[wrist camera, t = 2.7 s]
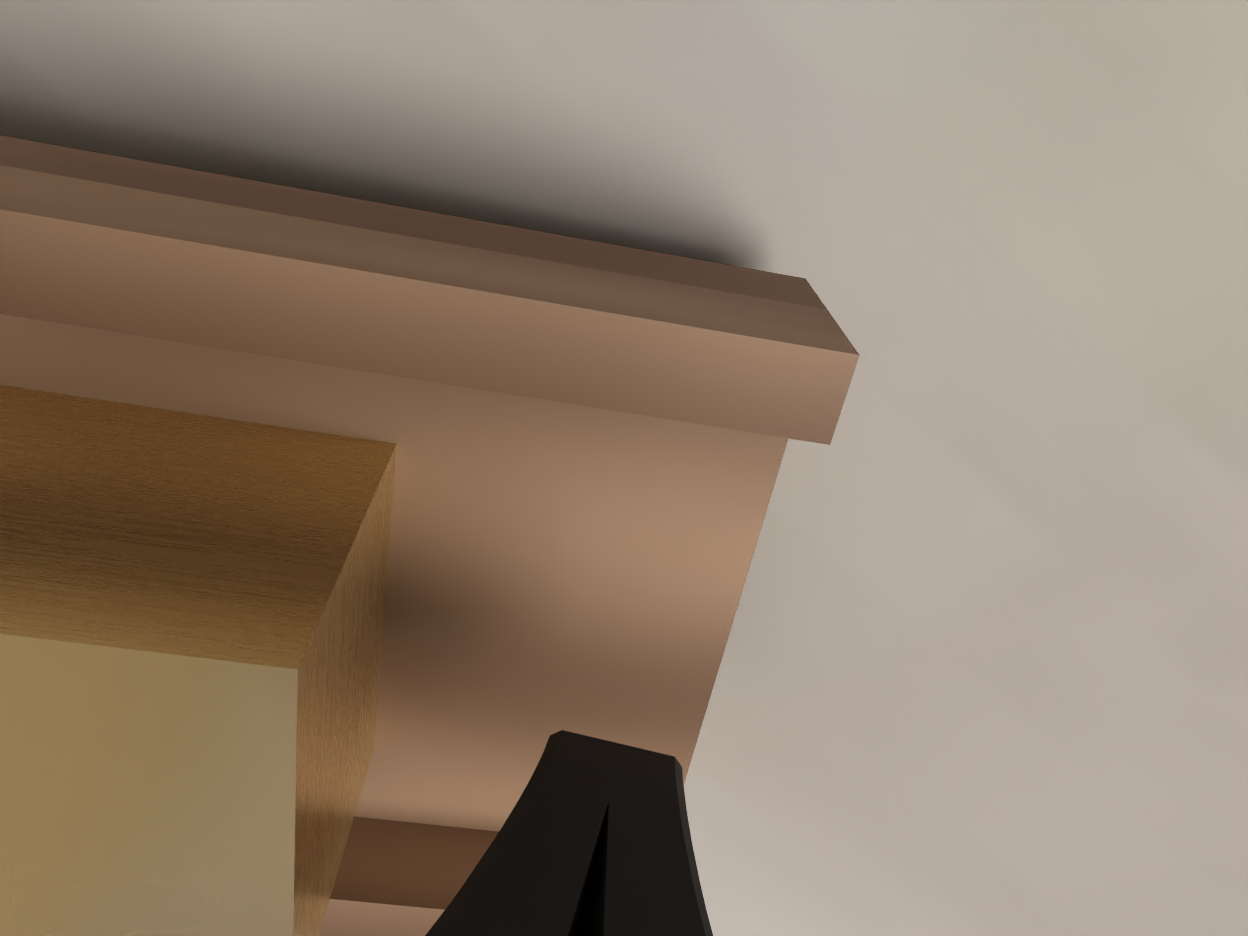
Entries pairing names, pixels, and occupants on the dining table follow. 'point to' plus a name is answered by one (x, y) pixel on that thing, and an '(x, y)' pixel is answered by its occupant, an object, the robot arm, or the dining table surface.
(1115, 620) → the dining table surface
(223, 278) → the beam
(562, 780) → the robot arm
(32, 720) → the wood grain cube
